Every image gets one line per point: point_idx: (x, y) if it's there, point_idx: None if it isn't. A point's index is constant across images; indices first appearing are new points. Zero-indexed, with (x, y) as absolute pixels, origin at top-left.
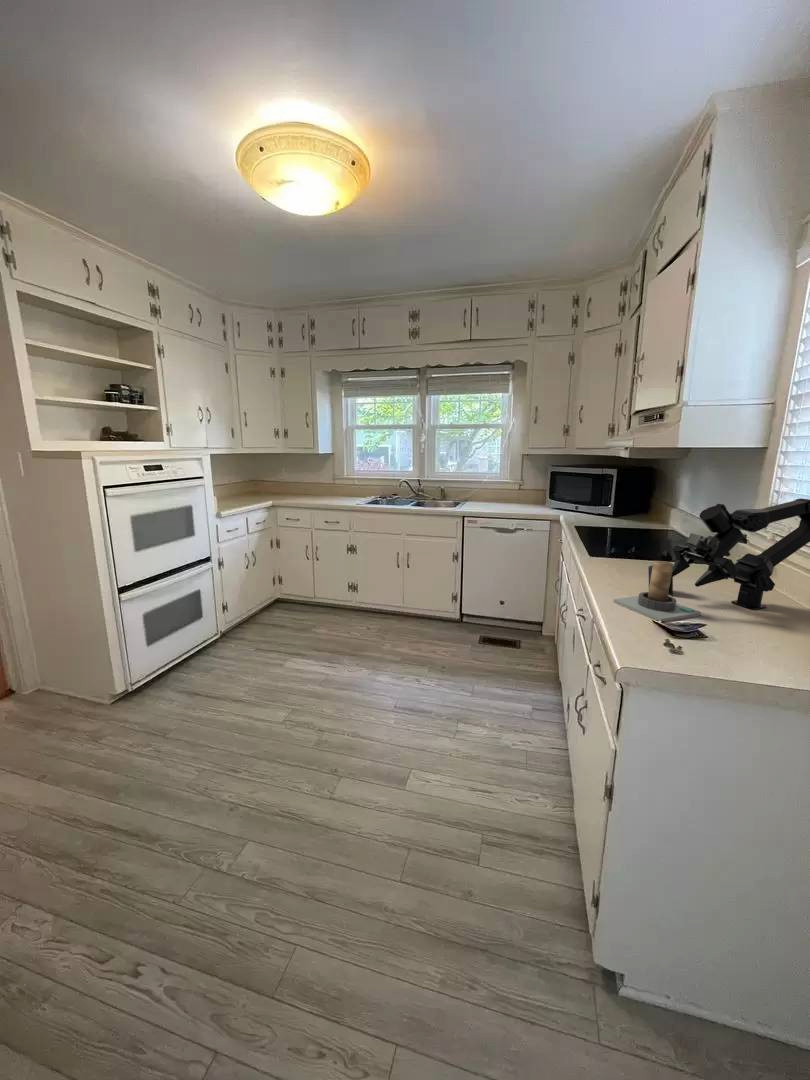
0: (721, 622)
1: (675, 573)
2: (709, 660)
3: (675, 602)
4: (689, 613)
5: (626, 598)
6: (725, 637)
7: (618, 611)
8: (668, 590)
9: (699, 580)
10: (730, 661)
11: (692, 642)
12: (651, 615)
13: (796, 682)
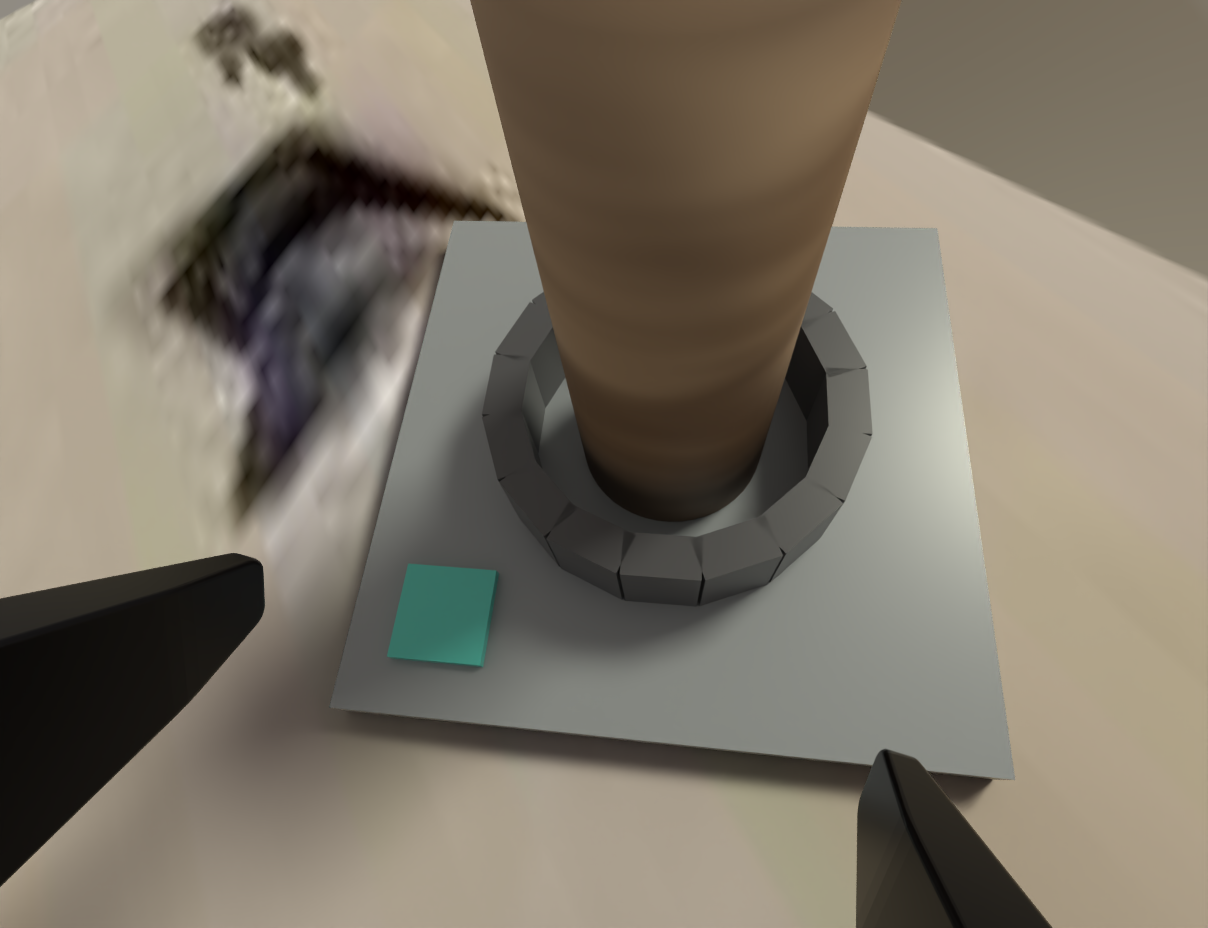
0: None
1: (872, 907)
2: (89, 81)
3: (489, 444)
4: (384, 539)
5: (926, 339)
6: (70, 406)
7: None
8: (559, 353)
9: (132, 574)
10: (8, 146)
11: (205, 167)
12: None
13: None
